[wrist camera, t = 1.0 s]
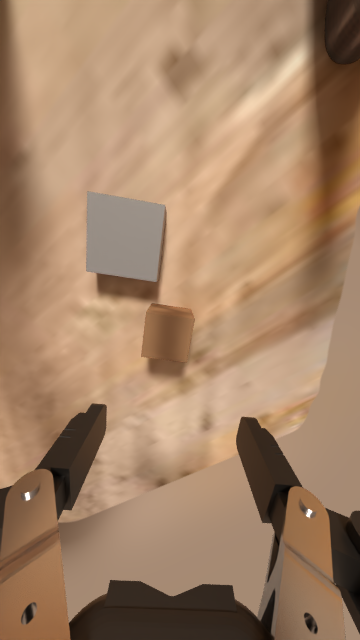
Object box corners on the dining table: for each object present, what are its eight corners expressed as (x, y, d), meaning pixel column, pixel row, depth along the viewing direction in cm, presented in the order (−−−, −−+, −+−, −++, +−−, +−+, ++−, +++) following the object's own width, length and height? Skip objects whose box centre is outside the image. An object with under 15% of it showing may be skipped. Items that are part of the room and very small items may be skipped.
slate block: (97, 270, 27) (86, 271, 23) (99, 201, 24) (87, 191, 21) (158, 280, 27) (156, 281, 24) (166, 213, 25) (165, 205, 21)
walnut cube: (147, 339, 29) (141, 356, 24) (152, 303, 28) (146, 312, 22) (184, 344, 30) (186, 362, 24) (190, 309, 28) (194, 319, 22)
